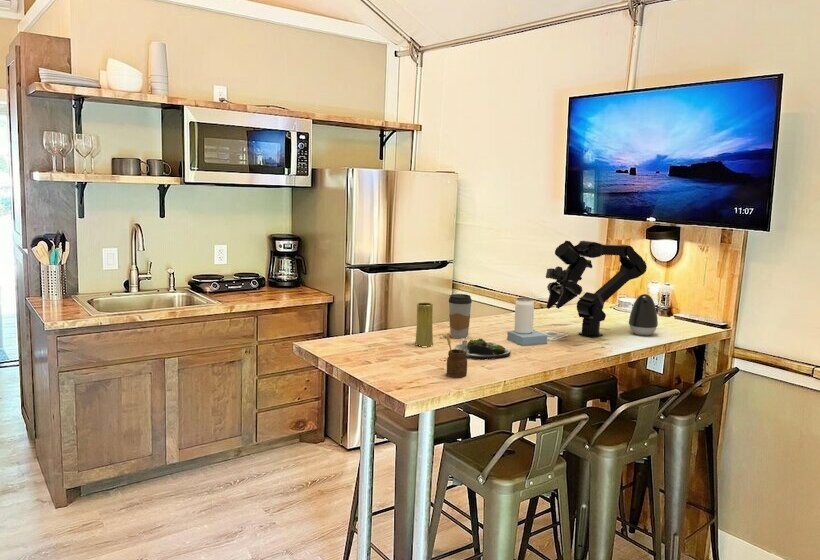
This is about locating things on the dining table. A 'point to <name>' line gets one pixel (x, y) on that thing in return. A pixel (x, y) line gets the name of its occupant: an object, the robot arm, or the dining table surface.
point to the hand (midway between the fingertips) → (552, 308)
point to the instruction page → (554, 335)
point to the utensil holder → (456, 361)
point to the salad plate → (483, 349)
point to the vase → (424, 324)
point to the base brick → (527, 338)
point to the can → (524, 315)
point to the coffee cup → (459, 315)
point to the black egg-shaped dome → (643, 316)
